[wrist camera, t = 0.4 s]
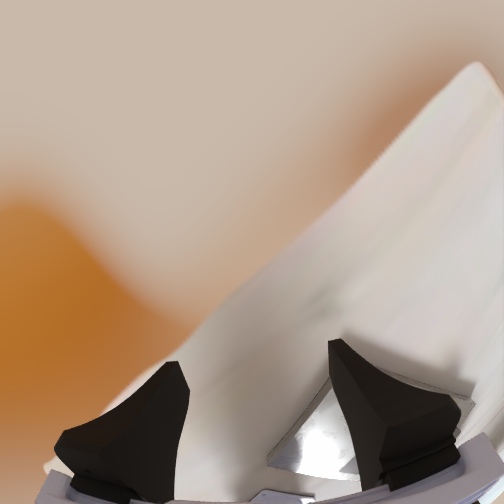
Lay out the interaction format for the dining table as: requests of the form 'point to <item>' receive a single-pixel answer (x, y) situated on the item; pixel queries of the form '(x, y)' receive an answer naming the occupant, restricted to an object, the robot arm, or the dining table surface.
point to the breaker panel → (333, 436)
